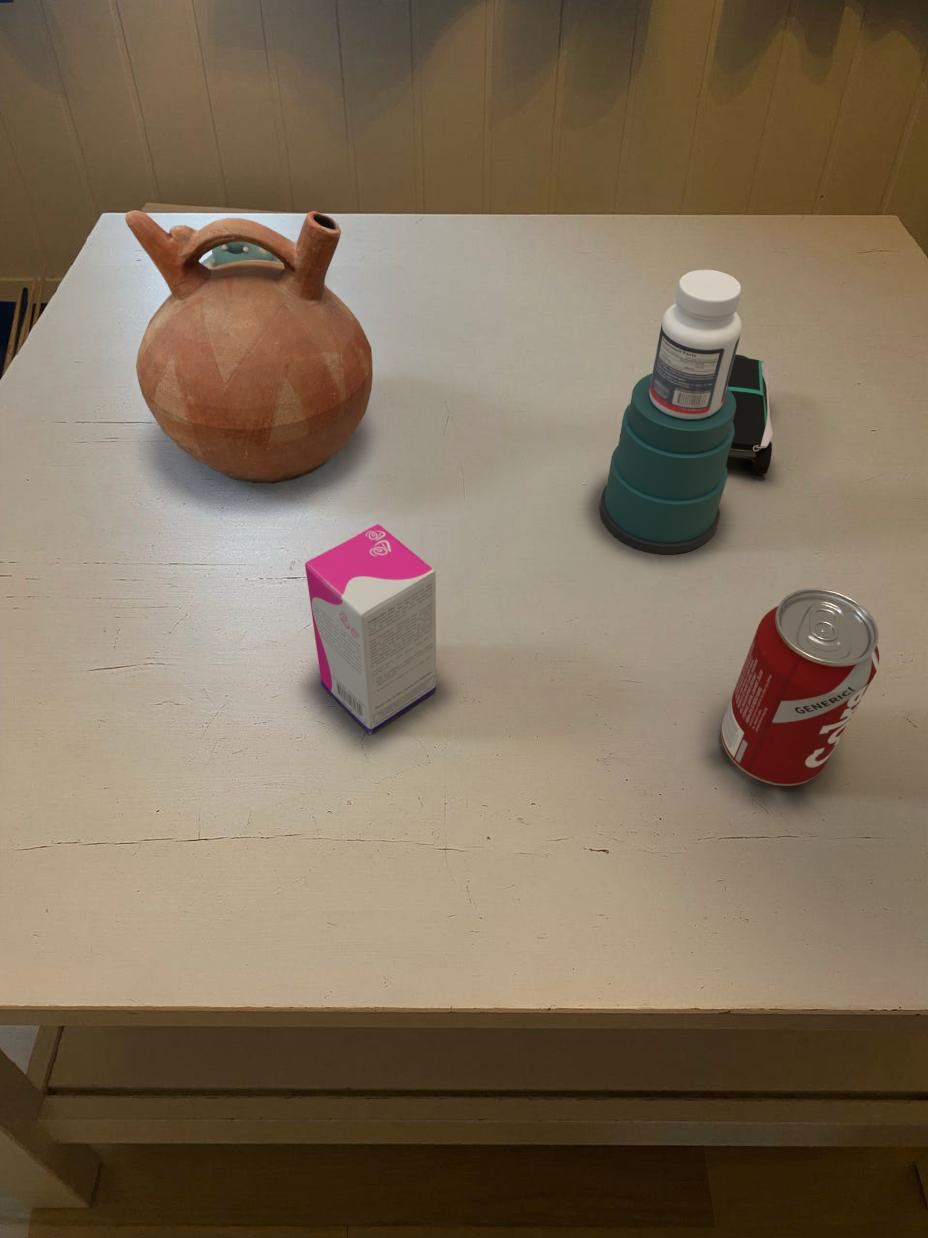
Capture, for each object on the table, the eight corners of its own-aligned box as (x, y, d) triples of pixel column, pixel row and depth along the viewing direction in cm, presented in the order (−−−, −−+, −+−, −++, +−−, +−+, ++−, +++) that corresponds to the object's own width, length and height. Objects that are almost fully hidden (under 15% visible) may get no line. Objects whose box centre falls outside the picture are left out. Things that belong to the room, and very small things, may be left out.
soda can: (711, 775, 59) (759, 655, 50) (724, 693, 64) (770, 569, 55) (822, 804, 58) (890, 685, 49) (827, 718, 62) (891, 595, 53)
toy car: (760, 398, 86) (775, 346, 82) (764, 481, 78) (781, 429, 74) (694, 390, 87) (707, 339, 83) (693, 473, 79) (706, 421, 75)
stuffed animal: (155, 273, 89) (193, 193, 95) (176, 332, 95) (210, 253, 101) (266, 283, 88) (297, 202, 94) (280, 342, 94) (308, 262, 100)
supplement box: (439, 689, 64) (439, 570, 55) (370, 737, 61) (357, 619, 52) (386, 640, 66) (378, 519, 58) (317, 683, 64) (298, 563, 55)
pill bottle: (681, 369, 70) (706, 255, 63) (737, 402, 67) (769, 286, 61) (632, 396, 68) (653, 280, 61) (688, 431, 65) (716, 314, 58)
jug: (135, 510, 75) (58, 275, 60) (186, 378, 87) (132, 155, 72) (367, 517, 75) (347, 283, 60) (386, 384, 87) (373, 161, 72)
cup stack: (728, 493, 77) (762, 378, 69) (702, 568, 72) (736, 452, 63) (618, 464, 80) (638, 349, 72) (584, 534, 74) (601, 419, 66)
